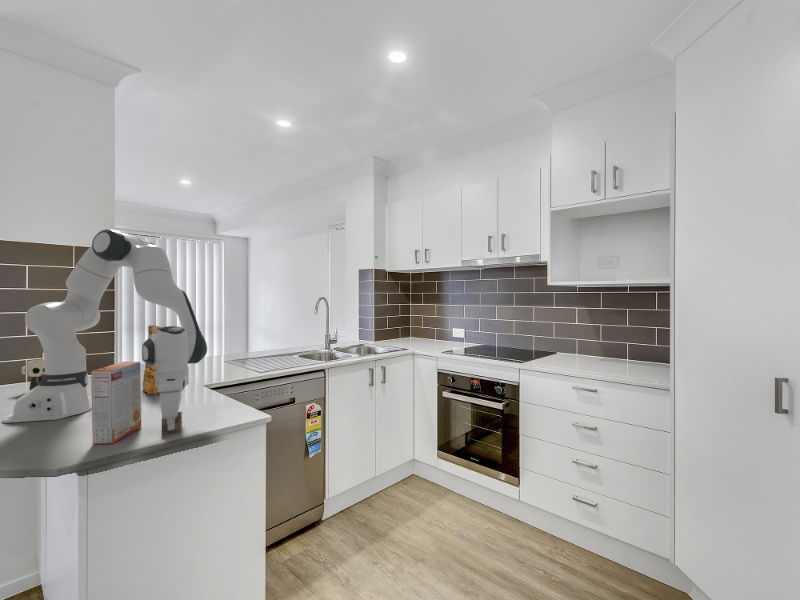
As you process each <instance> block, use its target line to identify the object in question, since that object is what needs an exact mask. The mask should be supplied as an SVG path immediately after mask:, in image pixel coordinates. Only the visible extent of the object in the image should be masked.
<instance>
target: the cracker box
mask: <svg viewBox="0 0 800 600" xmlns="http://www.w3.org/2000/svg"><path fill="white" fill-rule="evenodd" d="M90 376H91V377H90V379H91V380H90V381H91V383H90V384H91V385H90V387H91V407H92V409H91V422H92V423H91V425H92V431H91V432H92V445H110V444H115V443H117V442H119V441H120V440H121V439H123V438H125V437H127V436H128V435H130V434H132V433H133V432H135V431H137V430H138V429H140V428H141V427H142V390H141V389H142V385H141V384H142V381H141V378H142V377H141V361H121V362H117V363H115V364H114V363H113V364H111V365H108V366H104V367H100V368H97V369H93V370H91V371H90Z"/></svg>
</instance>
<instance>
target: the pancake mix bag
mask: <svg viewBox="0 0 800 600" xmlns="http://www.w3.org/2000/svg"><path fill="white" fill-rule="evenodd" d="M163 327H164V326H162V327H161V326H158V325H148V326H147V331H148V334H147V339H149V338H151V337H154V336H156V335H157V331H158V330H159V329H160V328H163ZM156 368H157V366H150V365H148V364H147V363H145V362H144V370H143V377H142V379H143V380H142V391H143V390H144V391H143V392H145V393H146V392H147V394H148V393H149V394H148V395H150V394H154V395H155V394H156V395H157V394H158V395H160V394H159V393H160V392H157V388H156Z"/></svg>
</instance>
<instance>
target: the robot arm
mask: <svg viewBox="0 0 800 600" xmlns="http://www.w3.org/2000/svg"><path fill="white" fill-rule="evenodd" d="M121 267H124V268H126V267H127V268H131V269H132V274H133V284H134V287H135V291H136V294H138V295H139V296H140V297H141V298H142V299H143V300H145V301H147V302H149V303H152V304H155V305H158V306H162V307H164V308H167V309H170V310H171V311H173V312H174V313H176V315H177V317H178V319H179V322H180V325H181V327H180V326H174V325H173V326H171V325H170V326H162V327H163V328H160V329H159V330H158V331H157V335H156V336H154V337H151V338H149V339H148V338H147V339H146V340H145V341H144V342H143V343H142V345H141V346H142V347H141V354H142V355H141V359H142V362H144V364H145V363H147V364H148V365H150V366H157V368H156V388H157V392H160V394H159V400H160V401H159V402H160V410H161V417H162V416H163V418H164V419H167V424H168V430H174V429H175V417H177V415H178V412H179V410H180V406H181V401H182V392H183V391H185V387H186V386H189V383H190V371H189V370H190V367H189V364H198V363H200V362H201V361H202V360H203V359H204V358H205V357H206V355H207V353H208V345H207V342H206V338H205V336H203V334H202V331H201V329H200V326H199V324H198V320H197V318H196V315H195V313H194V310H193V307H192V304H191V302H190V299H189V297H188V295H187V293H186V292H185V291H184V290H182V289H181V288H179V287H178V285H177V283H176V282H175V280H174V279H173V278H174V277H173V273H172V267H171V264H170V260H169V257H168V255H167V252H166V251H165V250H164V249H163V248H162V247H160V246H158V245H155V244H154V243H153V242H148V240H145V239H143V238H140V237H138V236H135V235H131V234H128V233H125V232H124V233H123V232H121V231H119V230H115V229H109V228H107V229H103V230H100V231H99V232H98V233H97V234H95V236H94V237H93V239H92V242H91V246H90V247H88V249H87V250H86V251H85V252H84V253H83V254H82V256H81V257H80V259H79V260H78V262H77V263H76V264H75V266H74V268H73V269H72V271H71V272H70V274H69V275H68V276H67V279H65V286H66V289H67V295H66V297H65V299H64V300H63V301H50V302H49V301H48V302H43V303H40V304H37V305H34V306H32V307H30V308H29V309H28V310H27V312H26V313H25V316H24V323H25V326H26V327H27V328H28V330H29V331H30V332H32V333H34V334H35V335H36V336H37V338H38V340H39V342H40V345H41V347H42V350H43V358H44V359H43V360H44V365H45V373H43V374H41V375H40V376H39V377H37V378H36V379H37V380H36V382H37V384H38V386H36V387H35V388H33V389H32V390H29V391H28V392H26V393H24V394H23V395H22V396H20V397H18V399H17V400H16V401H15V403H14V405H13V411H12V412H11V413H8V414H7V415H5V416H4V417H3V423H4V424H5V423H7V424H10V423H22V422H23V423H24V422H25V423H26V422H38V421H40V422H42V421H56V420H61V419H64V418H65V419H66V418H67V417H71V416H76V415H80V414H83V413H87V412H88V411H92V403H91V401H90V398H89V394H88V393H89V392H88V387H87V386H88V384H89V374H88V370H87V350H86V348H85V347H84V346H83V345H82V344H81V343H80V341H79V340H78V337H77V333H78V332H83V331H85V330H86V331H87V330H88V329H91V328H94V327H95V326H96V325H98V324H99V322H100V319H101V311H100V310H99V307H100V303H101V300H102V297H103V295H104V293H105V291H107V288H108V287H109V285H110V283H111V282H112V281H113V278H114V277H115V276H116V273H117V272H118V270H119V269H120V268H121ZM76 332H77V333H76Z"/></svg>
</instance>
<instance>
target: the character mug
mask: <svg viewBox="0 0 800 600" xmlns="http://www.w3.org/2000/svg"><path fill="white" fill-rule="evenodd" d="M26 369H27V371H26ZM43 373H45V365H44V359H33V360H29V361H27V365H23V366H21V375H27V376H28V377H31V379H30V383H29V391H30V390H32V389H33V388H35V387H36V386H38V384H37V382H36V380H37V379H36V378H37V377H39V376H40V375H41V374H43Z"/></svg>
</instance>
